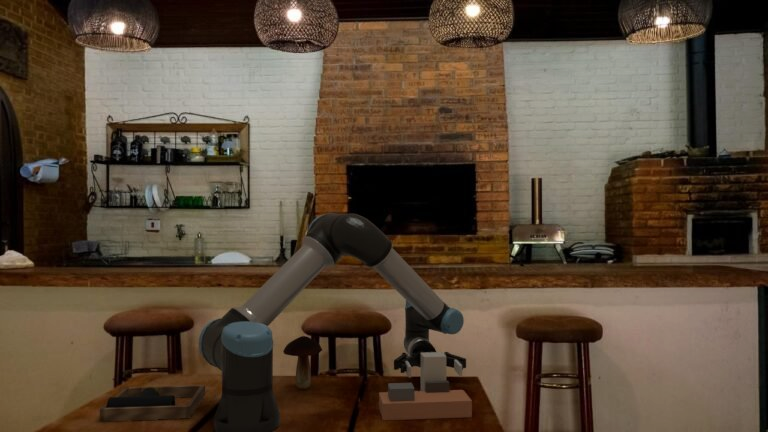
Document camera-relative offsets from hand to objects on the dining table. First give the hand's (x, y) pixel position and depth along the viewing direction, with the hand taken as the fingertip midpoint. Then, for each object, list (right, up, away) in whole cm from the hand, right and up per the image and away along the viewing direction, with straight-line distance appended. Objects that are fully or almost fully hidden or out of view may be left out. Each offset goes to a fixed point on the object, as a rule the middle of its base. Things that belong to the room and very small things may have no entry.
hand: (435, 371), depth 151 cm
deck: (-4, -8, -3) cm, 10 cm away
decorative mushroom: (-37, -9, +13) cm, 40 cm away
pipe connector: (-74, -9, -6) cm, 75 cm away
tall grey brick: (0, -8, +3) cm, 9 cm away
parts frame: (-72, -8, -4) cm, 73 cm away
